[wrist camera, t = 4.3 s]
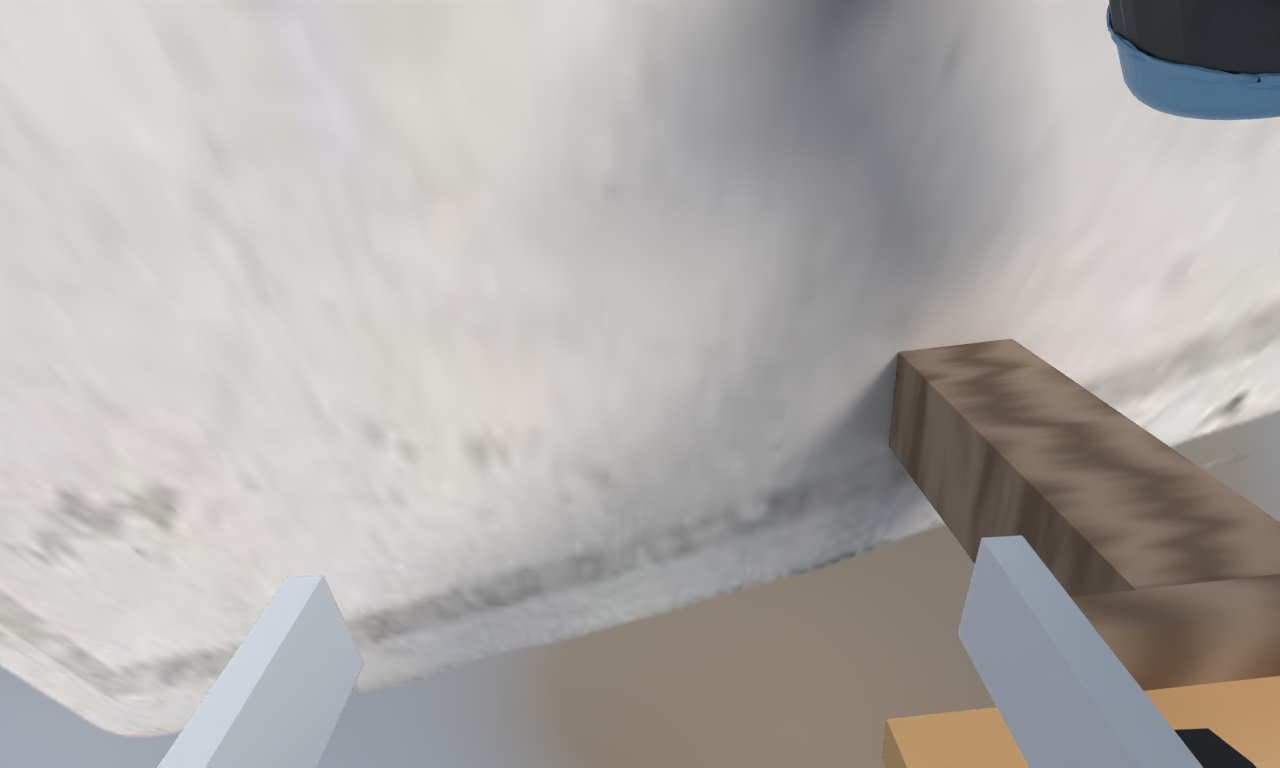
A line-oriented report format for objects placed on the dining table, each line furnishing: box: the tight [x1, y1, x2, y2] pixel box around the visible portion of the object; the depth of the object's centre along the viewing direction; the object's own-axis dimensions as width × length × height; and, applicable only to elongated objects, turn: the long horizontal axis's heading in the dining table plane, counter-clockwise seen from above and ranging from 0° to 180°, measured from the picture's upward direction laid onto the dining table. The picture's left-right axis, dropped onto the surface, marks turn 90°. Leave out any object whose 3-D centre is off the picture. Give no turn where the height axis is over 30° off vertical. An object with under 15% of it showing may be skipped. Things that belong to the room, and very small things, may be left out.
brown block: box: [882, 676, 1280, 768], centre depth 28 cm, size 26×3×4 cm, turn 96°
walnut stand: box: [889, 339, 1280, 691], centre depth 42 cm, size 18×12×30 cm, turn 96°
